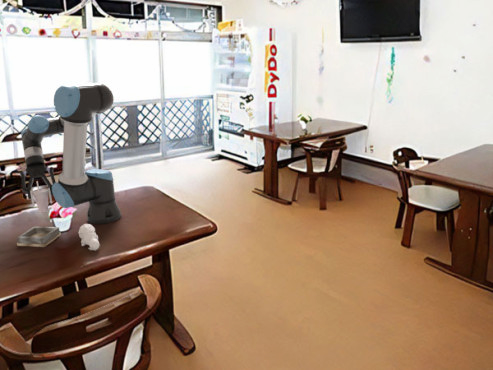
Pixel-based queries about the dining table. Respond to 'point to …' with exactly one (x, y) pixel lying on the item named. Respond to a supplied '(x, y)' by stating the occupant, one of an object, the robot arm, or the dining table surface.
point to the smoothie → (41, 199)
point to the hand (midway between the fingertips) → (42, 203)
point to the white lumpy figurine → (89, 236)
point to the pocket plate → (38, 236)
